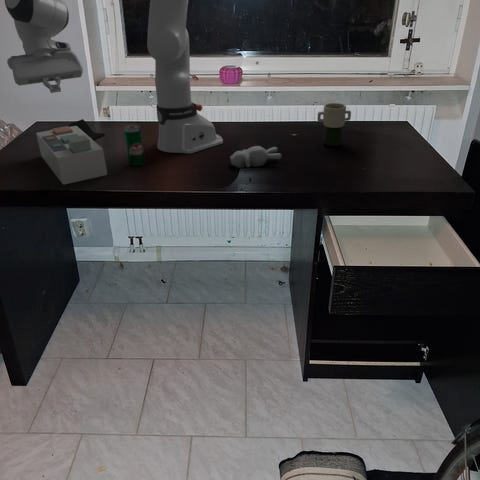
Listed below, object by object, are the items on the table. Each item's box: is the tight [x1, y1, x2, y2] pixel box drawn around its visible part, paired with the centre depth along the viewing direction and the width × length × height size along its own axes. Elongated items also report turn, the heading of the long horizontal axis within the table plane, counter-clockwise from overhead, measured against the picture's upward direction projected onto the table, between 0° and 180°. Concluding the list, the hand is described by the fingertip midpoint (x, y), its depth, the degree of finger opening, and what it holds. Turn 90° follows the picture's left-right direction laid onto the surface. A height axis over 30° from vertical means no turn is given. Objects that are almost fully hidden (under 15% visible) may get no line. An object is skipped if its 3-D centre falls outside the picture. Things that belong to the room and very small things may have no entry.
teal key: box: [60, 134, 79, 144], centre depth 152 cm, size 5×5×4 cm
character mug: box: [317, 102, 352, 147], centre depth 162 cm, size 11×7×13 cm, turn 94°
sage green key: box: [67, 135, 91, 154], centre depth 143 cm, size 5×5×4 cm
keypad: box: [35, 126, 108, 185], centre depth 152 cm, size 13×28×8 cm, turn 31°
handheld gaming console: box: [66, 119, 105, 142], centre depth 176 cm, size 12×7×10 cm
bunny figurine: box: [229, 145, 282, 168], centre depth 150 cm, size 10×5×15 cm
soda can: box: [123, 124, 146, 168], centre depth 151 cm, size 5×5×12 cm
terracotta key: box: [52, 125, 73, 136], centre depth 159 cm, size 5×5×4 cm
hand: (55, 91), depth 149 cm, fingers closed
